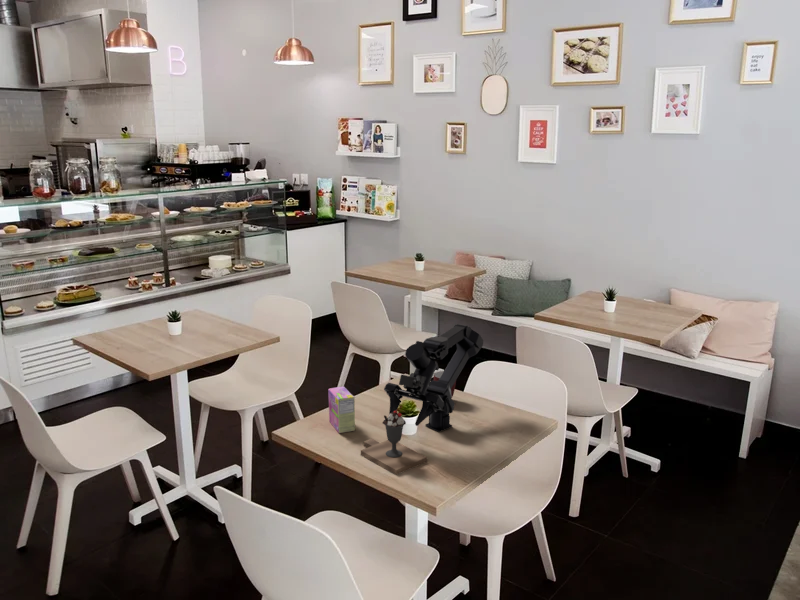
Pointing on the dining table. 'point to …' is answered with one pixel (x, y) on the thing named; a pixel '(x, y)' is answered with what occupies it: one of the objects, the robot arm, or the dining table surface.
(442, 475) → the dining table surface
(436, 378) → the mug
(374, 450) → the board
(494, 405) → the dining table surface
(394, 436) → the sundae
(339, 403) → the box
